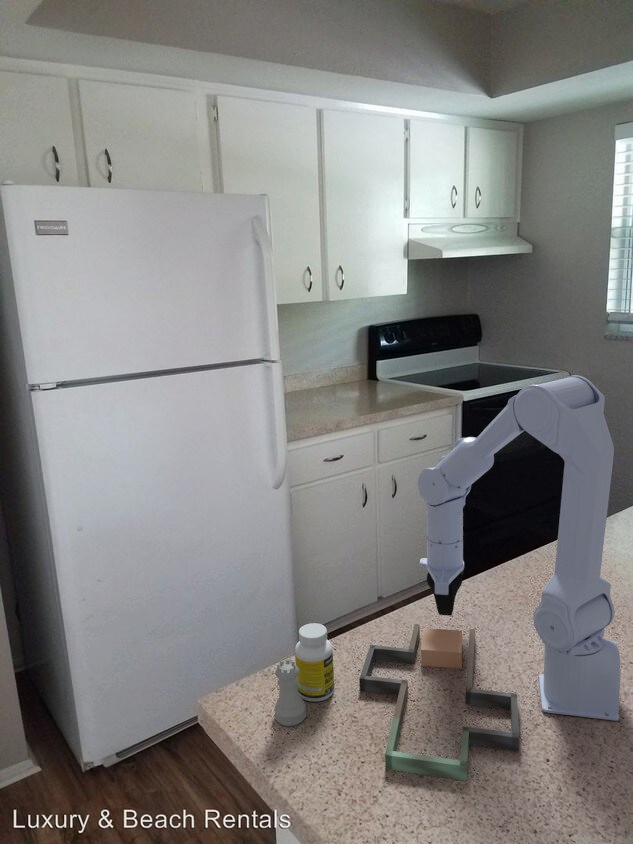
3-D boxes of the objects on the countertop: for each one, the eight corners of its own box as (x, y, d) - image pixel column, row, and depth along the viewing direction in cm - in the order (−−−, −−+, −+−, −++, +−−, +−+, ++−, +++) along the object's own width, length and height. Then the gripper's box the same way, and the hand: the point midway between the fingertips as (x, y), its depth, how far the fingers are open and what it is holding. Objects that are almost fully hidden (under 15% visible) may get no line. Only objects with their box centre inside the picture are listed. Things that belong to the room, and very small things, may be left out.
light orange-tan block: (462, 647, 102) (462, 630, 102) (461, 670, 97) (461, 652, 96) (423, 644, 104) (423, 628, 103) (421, 667, 98) (420, 649, 98)
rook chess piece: (282, 732, 86) (278, 679, 84) (269, 713, 90) (264, 662, 88) (312, 720, 88) (309, 668, 86) (298, 702, 91) (294, 651, 90)
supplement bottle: (331, 704, 90) (327, 642, 88) (293, 701, 92) (289, 639, 89) (337, 680, 96) (334, 621, 93) (302, 678, 97) (297, 619, 95)
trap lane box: (514, 644, 102) (514, 632, 102) (520, 789, 74) (520, 774, 74) (378, 631, 108) (378, 620, 107) (337, 761, 80) (336, 747, 80)
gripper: (424, 518, 112) (425, 590, 115) (414, 554, 98) (416, 634, 102) (466, 520, 110) (466, 593, 113) (461, 557, 96) (462, 639, 100)
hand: (445, 613), depth 107 cm, fingers closed
